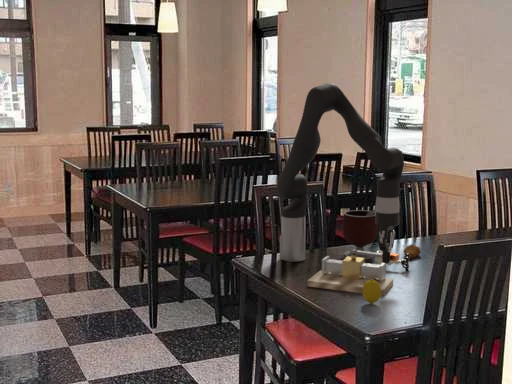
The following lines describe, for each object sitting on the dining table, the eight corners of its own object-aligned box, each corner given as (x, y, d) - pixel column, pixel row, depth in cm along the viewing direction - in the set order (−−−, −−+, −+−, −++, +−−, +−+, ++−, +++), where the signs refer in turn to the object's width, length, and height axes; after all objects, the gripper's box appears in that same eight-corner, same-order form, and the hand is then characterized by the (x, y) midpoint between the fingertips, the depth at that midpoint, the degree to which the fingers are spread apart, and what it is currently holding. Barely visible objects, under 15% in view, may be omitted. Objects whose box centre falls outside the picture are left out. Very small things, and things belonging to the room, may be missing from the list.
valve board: (307, 286, 212) (307, 280, 212) (320, 275, 224) (320, 270, 223) (383, 296, 201) (383, 290, 201) (393, 284, 213) (393, 278, 213)
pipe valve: (321, 275, 217) (321, 253, 216) (327, 271, 222) (327, 249, 221) (381, 283, 208) (382, 259, 207) (385, 278, 214) (386, 255, 212)
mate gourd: (334, 255, 251) (335, 205, 248) (357, 249, 260) (358, 201, 257) (365, 262, 240) (366, 211, 236) (387, 256, 248) (389, 206, 245)
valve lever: (348, 254, 214) (348, 249, 213) (351, 252, 216) (351, 247, 216) (396, 261, 205) (396, 255, 205) (399, 259, 207) (399, 254, 207)
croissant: (418, 261, 241) (418, 249, 240) (400, 260, 244) (400, 247, 243) (423, 253, 253) (424, 241, 252) (406, 251, 256) (407, 239, 255)
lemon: (360, 301, 197) (360, 276, 195) (377, 300, 197) (378, 276, 196) (364, 307, 191) (365, 282, 190) (382, 306, 192) (383, 281, 190)
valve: (373, 271, 229) (407, 274, 225) (374, 253, 228) (408, 256, 224) (376, 266, 235) (409, 268, 231) (376, 249, 234) (409, 251, 230)
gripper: (393, 214, 195) (391, 268, 197) (404, 208, 206) (403, 259, 209) (369, 212, 198) (368, 266, 201) (382, 206, 210) (381, 256, 212)
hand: (386, 262), depth 205 cm, fingers closed
